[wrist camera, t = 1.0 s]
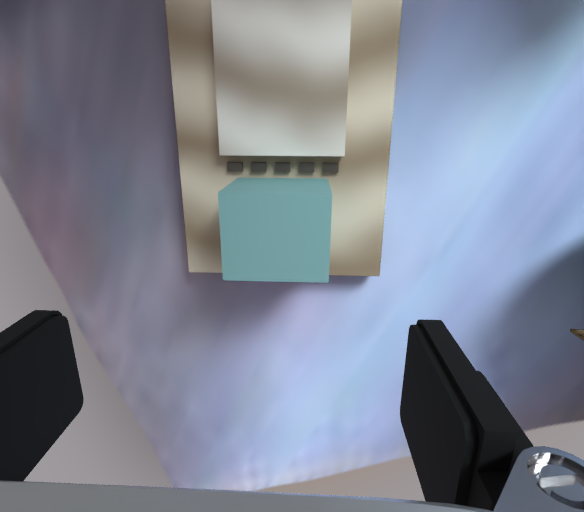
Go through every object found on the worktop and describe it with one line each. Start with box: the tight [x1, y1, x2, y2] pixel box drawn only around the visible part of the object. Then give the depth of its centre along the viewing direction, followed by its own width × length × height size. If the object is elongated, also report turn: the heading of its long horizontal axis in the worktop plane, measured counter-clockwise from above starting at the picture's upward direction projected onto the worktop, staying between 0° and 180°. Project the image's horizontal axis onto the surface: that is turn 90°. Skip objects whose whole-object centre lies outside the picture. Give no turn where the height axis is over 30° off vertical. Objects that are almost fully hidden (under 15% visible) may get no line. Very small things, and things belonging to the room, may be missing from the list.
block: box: [218, 178, 332, 283], centre depth 24 cm, size 5×6×6 cm
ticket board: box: [165, 0, 402, 276], centre depth 26 cm, size 18×14×3 cm
